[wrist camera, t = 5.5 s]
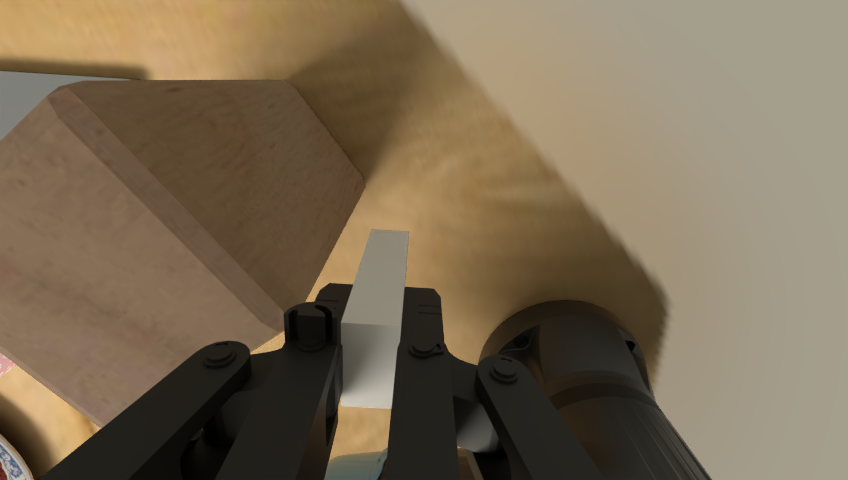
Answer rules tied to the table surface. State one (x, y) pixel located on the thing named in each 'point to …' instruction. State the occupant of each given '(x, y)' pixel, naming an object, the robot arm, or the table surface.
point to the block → (160, 228)
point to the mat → (30, 93)
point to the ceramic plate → (12, 463)
